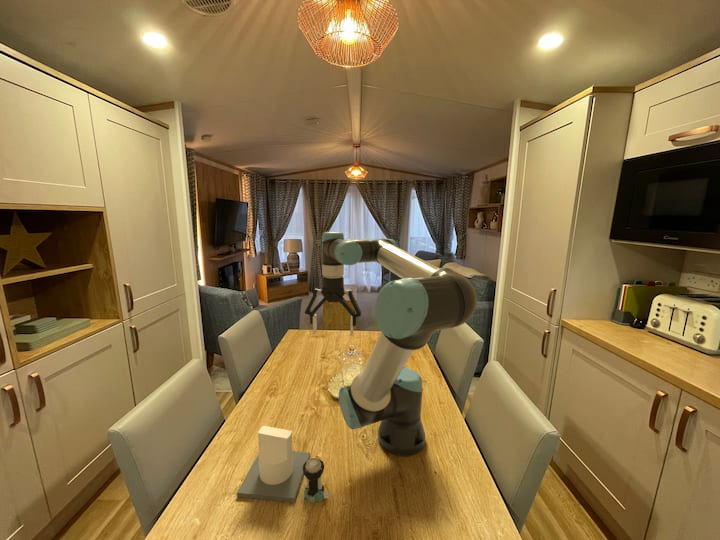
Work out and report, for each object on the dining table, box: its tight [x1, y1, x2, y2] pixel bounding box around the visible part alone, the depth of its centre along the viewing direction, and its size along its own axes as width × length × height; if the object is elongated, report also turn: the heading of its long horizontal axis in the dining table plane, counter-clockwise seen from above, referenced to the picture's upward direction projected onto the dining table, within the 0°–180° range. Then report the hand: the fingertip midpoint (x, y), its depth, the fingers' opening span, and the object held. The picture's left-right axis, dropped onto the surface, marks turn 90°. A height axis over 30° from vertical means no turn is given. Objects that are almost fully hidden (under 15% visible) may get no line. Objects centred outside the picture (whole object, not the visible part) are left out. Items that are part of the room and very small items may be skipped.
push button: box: [303, 457, 331, 503], centre depth 77 cm, size 7×5×10 cm
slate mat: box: [236, 450, 311, 503], centre depth 84 cm, size 15×15×1 cm
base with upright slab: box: [257, 425, 294, 485], centre depth 83 cm, size 9×9×12 cm
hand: (333, 333), depth 111 cm, fingers open, 13 cm apart
